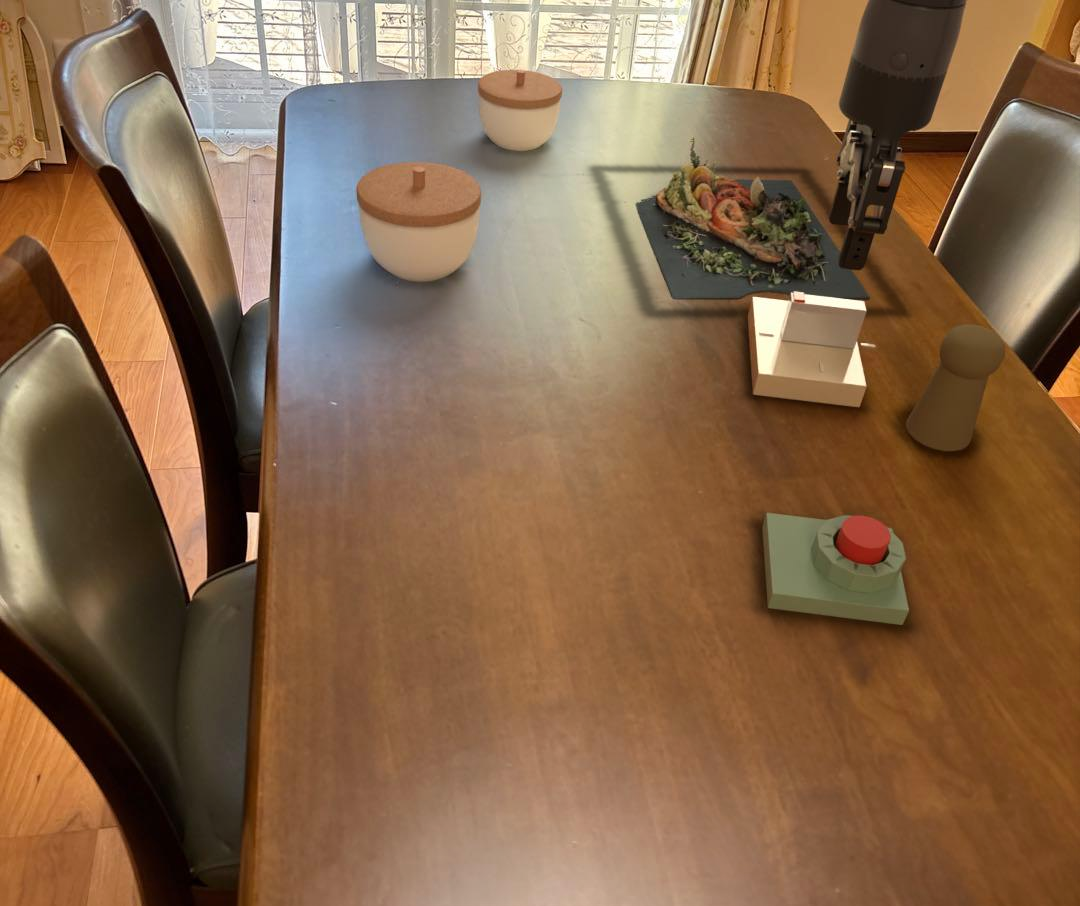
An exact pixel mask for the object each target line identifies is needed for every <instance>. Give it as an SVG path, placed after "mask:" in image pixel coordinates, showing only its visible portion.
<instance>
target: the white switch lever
mask: <svg viewBox="0 0 1080 906" xmlns="http://www.w3.org/2000/svg"><path fill="white" fill-rule="evenodd" d="M787 301H788V305H787V309H786V312H785V316H784V320H783V324H782V327H781V337H782V340H784V341H792V342H801V343H809V344H818V345H826V346H834V347H843V348H851V349H854V348H855V345H856V342H857V343H858V339H859V336H860V332H861V329H862V327H863V323H864V320H865V317H866V315H867V311H868V310H867V307H866V301H865V300H850V299H841V298H832V297H824V296H815V295H807V294H804V292H795V291H794V292H793V293H791V294H790V295H789V298H788V300H787Z"/></svg>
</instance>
